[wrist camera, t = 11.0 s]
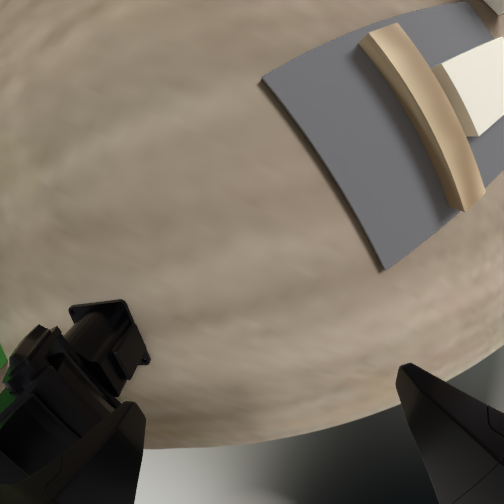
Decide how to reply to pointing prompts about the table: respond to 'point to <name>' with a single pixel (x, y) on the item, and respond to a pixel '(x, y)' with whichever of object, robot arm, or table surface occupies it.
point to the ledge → (427, 113)
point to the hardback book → (2, 357)
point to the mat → (383, 127)
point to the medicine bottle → (496, 5)
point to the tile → (475, 85)
